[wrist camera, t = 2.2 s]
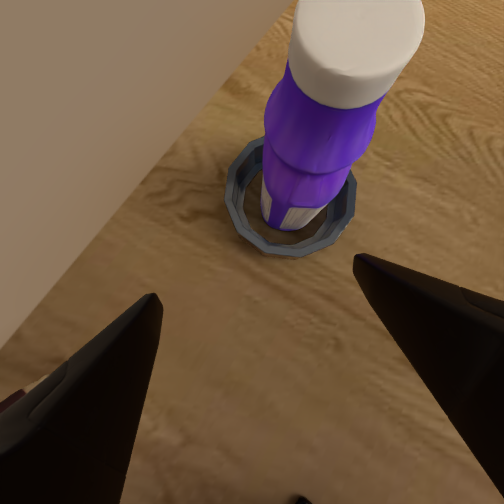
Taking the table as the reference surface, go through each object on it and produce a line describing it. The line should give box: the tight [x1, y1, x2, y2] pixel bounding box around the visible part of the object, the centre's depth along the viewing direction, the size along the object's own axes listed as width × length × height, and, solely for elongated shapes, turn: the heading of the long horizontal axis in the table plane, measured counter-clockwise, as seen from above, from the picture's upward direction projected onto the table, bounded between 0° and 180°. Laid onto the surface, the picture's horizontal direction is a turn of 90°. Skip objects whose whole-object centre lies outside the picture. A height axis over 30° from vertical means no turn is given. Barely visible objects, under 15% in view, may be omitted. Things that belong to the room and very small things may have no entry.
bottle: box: [261, 0, 425, 231], centre depth 15 cm, size 7×6×17 cm
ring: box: [224, 136, 357, 260], centre depth 22 cm, size 13×13×4 cm
